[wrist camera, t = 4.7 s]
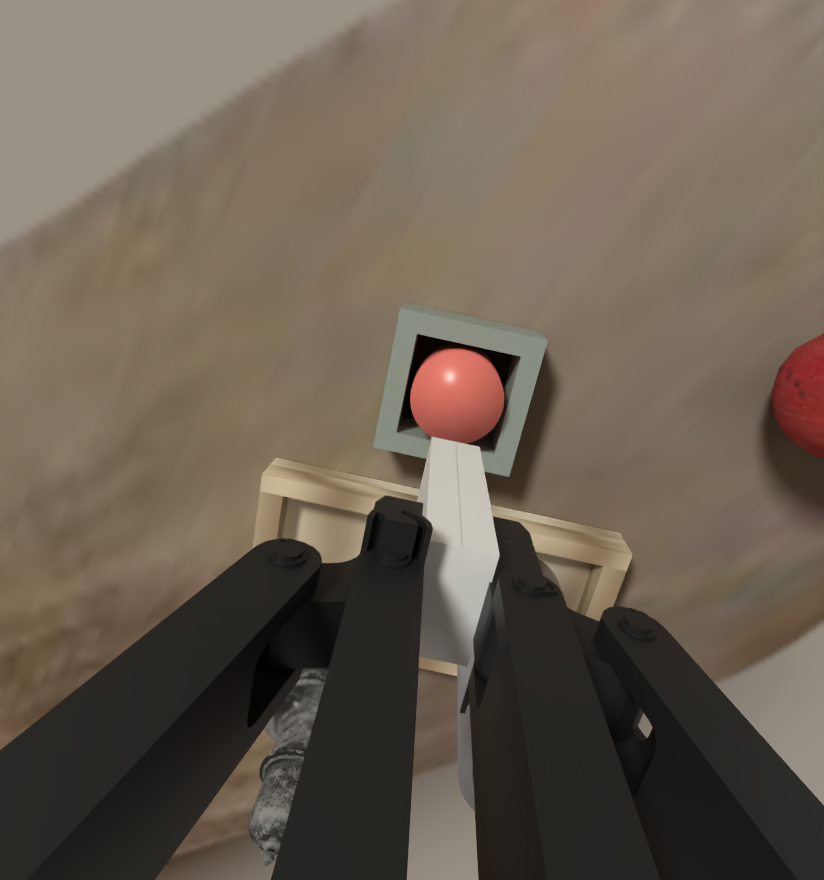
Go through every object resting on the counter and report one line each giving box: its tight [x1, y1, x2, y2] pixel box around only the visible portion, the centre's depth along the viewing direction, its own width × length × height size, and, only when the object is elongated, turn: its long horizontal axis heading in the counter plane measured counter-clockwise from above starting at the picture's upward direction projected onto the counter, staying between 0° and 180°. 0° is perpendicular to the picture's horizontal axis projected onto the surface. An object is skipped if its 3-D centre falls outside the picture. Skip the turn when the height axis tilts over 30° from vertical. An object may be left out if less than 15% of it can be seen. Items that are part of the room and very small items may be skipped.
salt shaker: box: [248, 667, 329, 865], centre depth 32 cm, size 6×6×12 cm
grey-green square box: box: [373, 302, 548, 477], centre depth 29 cm, size 7×7×3 cm
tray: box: [252, 458, 633, 676], centre depth 33 cm, size 20×10×2 cm, turn 78°
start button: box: [410, 343, 504, 444], centre depth 28 cm, size 4×4×3 cm
